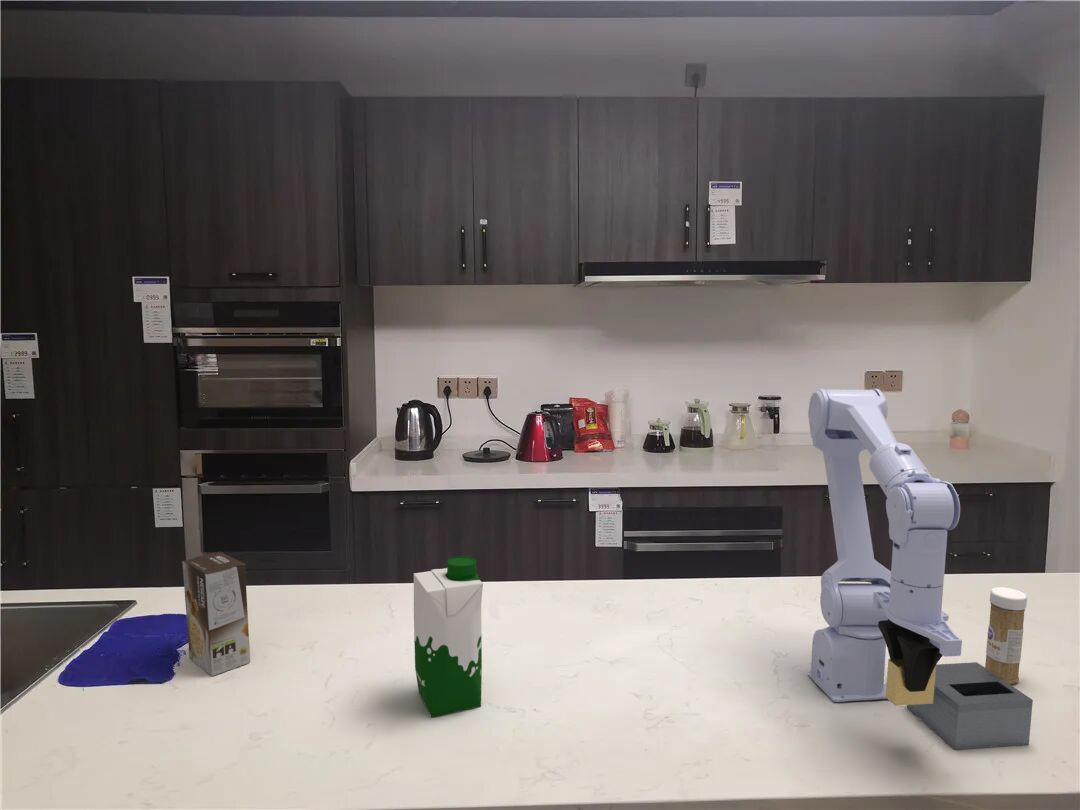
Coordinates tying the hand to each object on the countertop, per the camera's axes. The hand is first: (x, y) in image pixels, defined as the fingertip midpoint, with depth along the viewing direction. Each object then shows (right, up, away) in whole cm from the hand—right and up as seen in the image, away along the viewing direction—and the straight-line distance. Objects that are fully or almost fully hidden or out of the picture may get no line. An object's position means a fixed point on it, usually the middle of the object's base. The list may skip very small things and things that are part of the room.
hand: (909, 684), depth 90 cm
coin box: (+11, -8, +6) cm, 14 cm away
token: (0, -2, 0) cm, 2 cm away
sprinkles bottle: (+23, -6, +19) cm, 30 cm away
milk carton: (-59, -7, +12) cm, 60 cm away
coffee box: (-96, -6, +24) cm, 99 cm away
